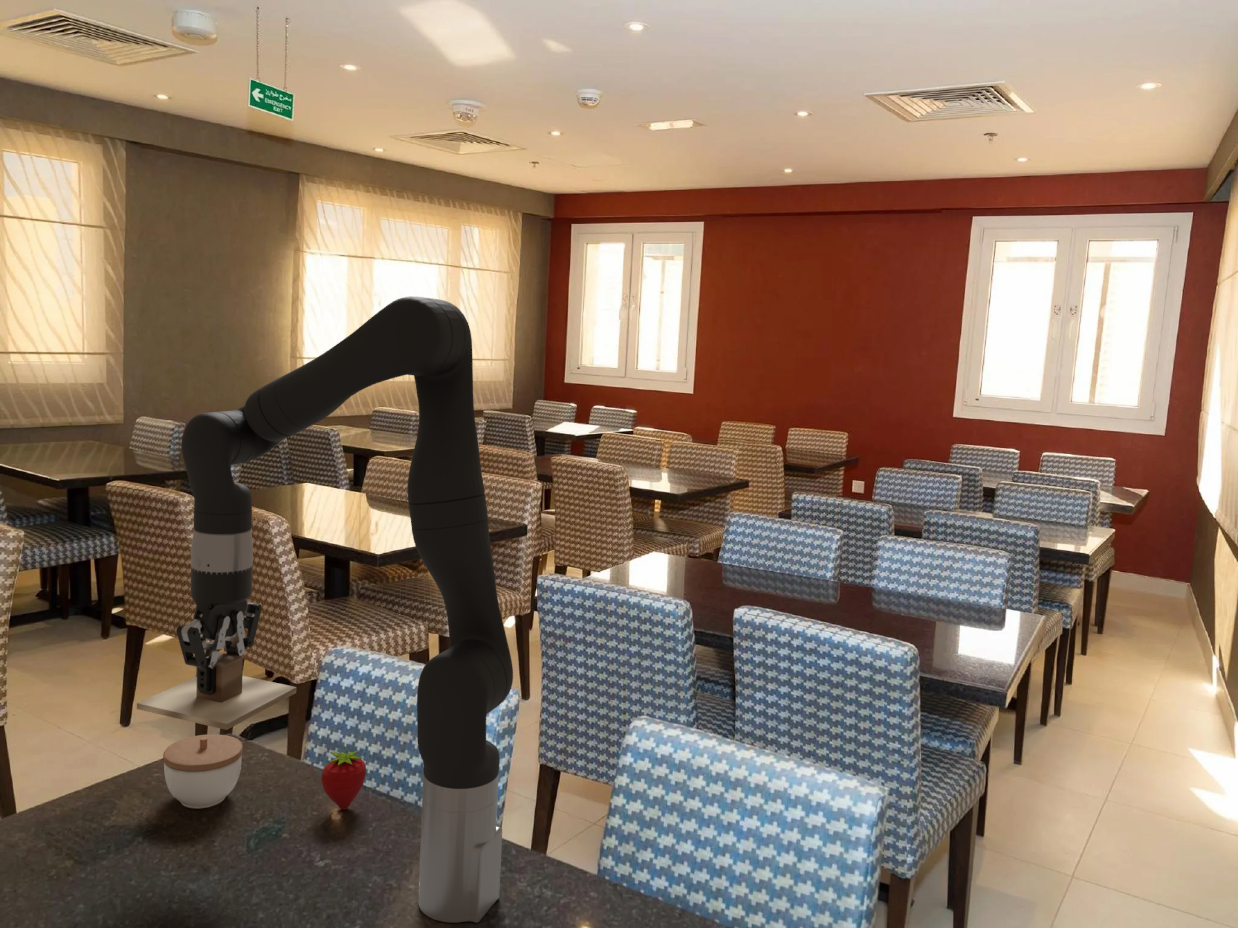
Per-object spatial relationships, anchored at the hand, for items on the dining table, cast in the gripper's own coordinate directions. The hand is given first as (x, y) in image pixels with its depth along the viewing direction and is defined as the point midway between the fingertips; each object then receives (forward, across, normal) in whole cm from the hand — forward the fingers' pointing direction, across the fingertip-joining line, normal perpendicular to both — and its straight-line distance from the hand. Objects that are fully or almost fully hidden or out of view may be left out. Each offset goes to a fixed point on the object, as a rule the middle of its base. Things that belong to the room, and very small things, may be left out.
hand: (219, 686), depth 130 cm
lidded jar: (+22, +8, +10) cm, 26 cm away
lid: (+2, 0, 0) cm, 2 cm away
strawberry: (+22, +14, -11) cm, 28 cm away
